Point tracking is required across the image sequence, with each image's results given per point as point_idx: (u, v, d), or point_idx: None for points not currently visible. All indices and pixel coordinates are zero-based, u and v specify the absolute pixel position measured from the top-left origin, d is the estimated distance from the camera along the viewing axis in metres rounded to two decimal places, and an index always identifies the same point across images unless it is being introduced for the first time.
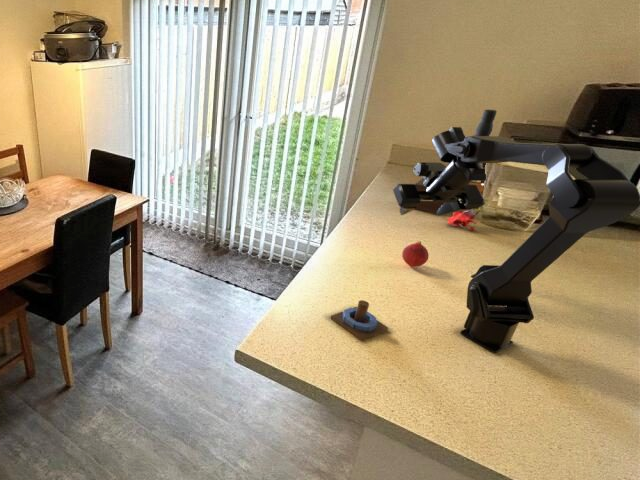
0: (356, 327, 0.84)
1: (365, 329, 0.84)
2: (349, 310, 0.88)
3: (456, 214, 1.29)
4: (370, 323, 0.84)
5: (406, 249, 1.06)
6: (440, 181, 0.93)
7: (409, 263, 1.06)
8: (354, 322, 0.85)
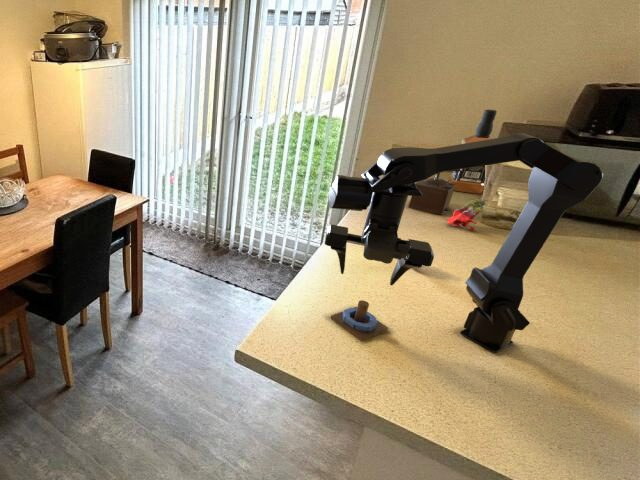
0: (356, 327, 0.84)
1: (365, 329, 0.84)
2: (349, 310, 0.88)
3: (456, 214, 1.29)
4: (370, 323, 0.84)
5: None
6: None
7: None
8: (354, 322, 0.85)
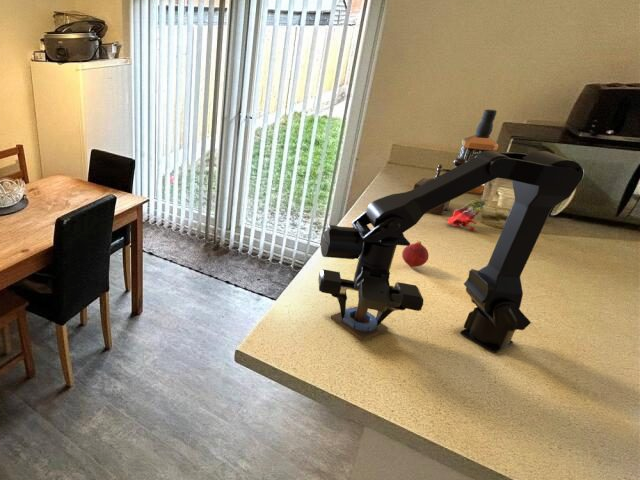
0: (356, 327, 0.84)
1: (365, 329, 0.84)
2: (349, 310, 0.88)
3: (456, 214, 1.29)
4: (370, 323, 0.84)
5: (406, 249, 1.06)
6: None
7: (409, 263, 1.06)
8: (354, 322, 0.85)
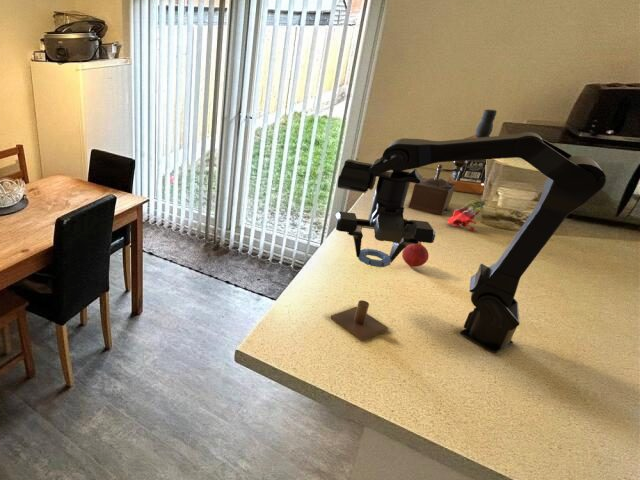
0: (371, 263, 0.89)
1: (380, 265, 0.89)
2: (364, 250, 0.93)
3: (456, 214, 1.29)
4: (384, 260, 0.89)
5: (406, 249, 1.06)
6: None
7: (409, 263, 1.06)
8: (369, 259, 0.90)
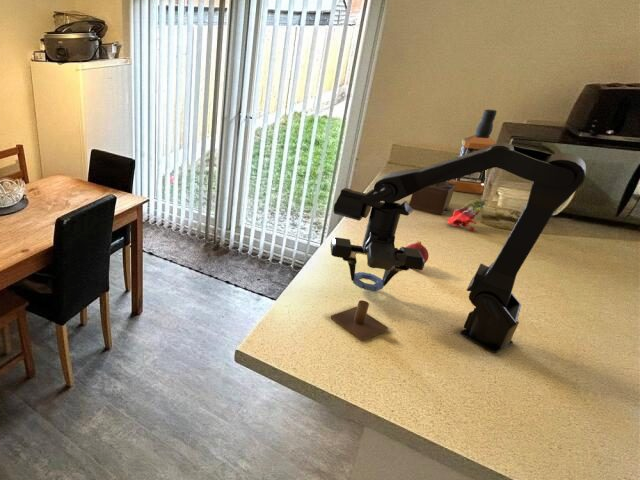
0: (365, 287, 0.94)
1: (373, 289, 0.94)
2: (358, 274, 0.99)
3: (456, 214, 1.29)
4: (377, 284, 0.94)
5: None
6: None
7: None
8: (363, 283, 0.95)
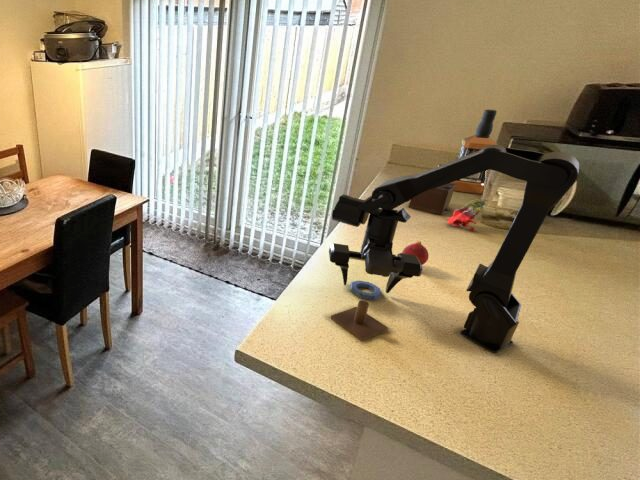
0: (362, 296, 0.95)
1: (370, 298, 0.95)
2: (356, 282, 1.00)
3: (456, 214, 1.29)
4: (375, 293, 0.95)
5: (406, 249, 1.06)
6: None
7: None
8: (360, 292, 0.96)
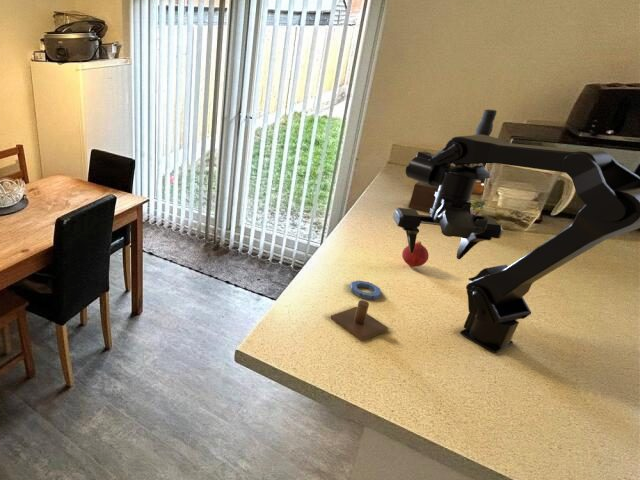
0: (362, 296, 0.95)
1: (370, 298, 0.95)
2: (356, 282, 1.00)
3: None
4: (375, 293, 0.95)
5: (406, 249, 1.06)
6: None
7: (409, 263, 1.06)
8: (360, 292, 0.96)
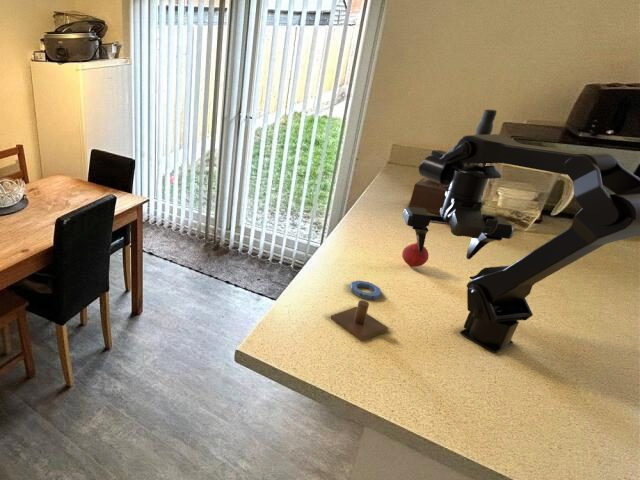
0: (362, 296, 0.95)
1: (370, 298, 0.95)
2: (356, 282, 1.00)
3: None
4: (375, 293, 0.95)
5: (406, 249, 1.06)
6: None
7: (409, 263, 1.06)
8: (360, 292, 0.96)
